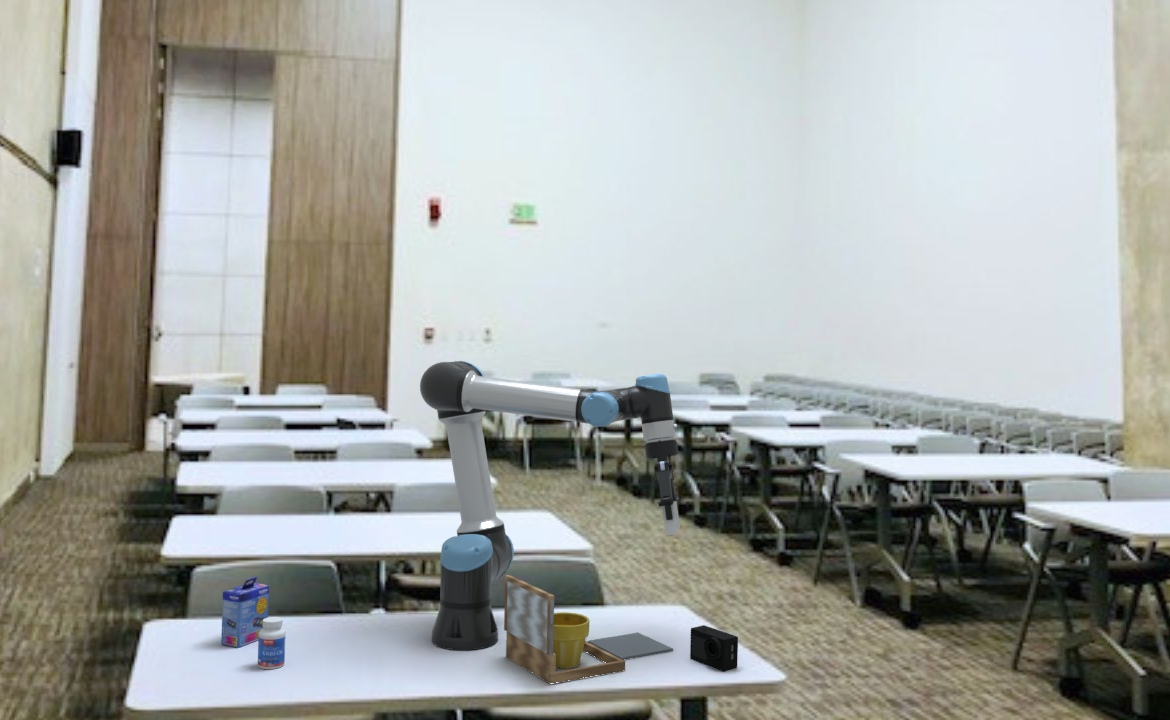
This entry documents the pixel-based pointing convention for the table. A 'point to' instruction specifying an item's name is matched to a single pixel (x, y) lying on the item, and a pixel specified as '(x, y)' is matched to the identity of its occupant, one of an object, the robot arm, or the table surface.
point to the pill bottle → (271, 644)
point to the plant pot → (569, 638)
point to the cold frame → (542, 635)
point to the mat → (630, 646)
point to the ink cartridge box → (244, 613)
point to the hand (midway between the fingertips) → (673, 532)
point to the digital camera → (714, 648)
